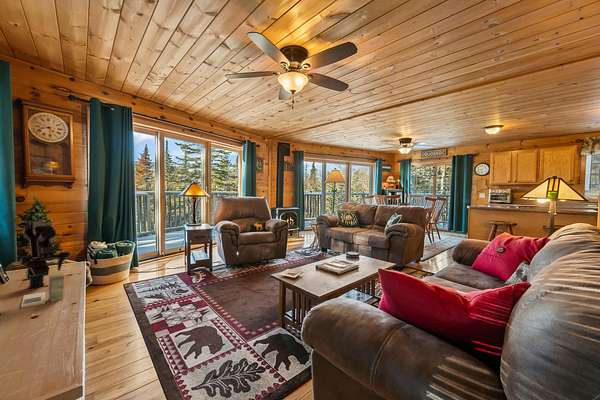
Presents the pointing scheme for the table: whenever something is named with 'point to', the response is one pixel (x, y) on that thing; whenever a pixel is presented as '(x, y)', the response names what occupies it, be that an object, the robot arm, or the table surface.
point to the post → (56, 287)
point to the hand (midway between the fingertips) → (47, 272)
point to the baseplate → (33, 299)
